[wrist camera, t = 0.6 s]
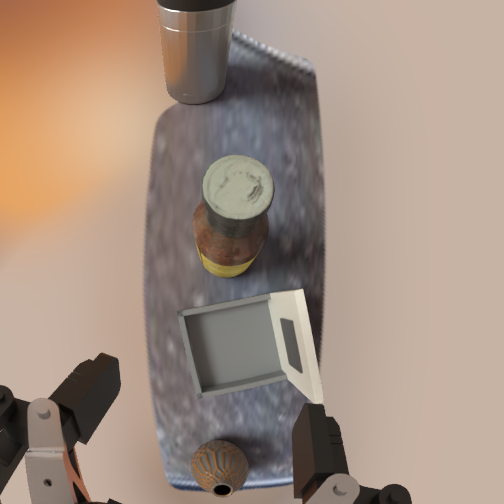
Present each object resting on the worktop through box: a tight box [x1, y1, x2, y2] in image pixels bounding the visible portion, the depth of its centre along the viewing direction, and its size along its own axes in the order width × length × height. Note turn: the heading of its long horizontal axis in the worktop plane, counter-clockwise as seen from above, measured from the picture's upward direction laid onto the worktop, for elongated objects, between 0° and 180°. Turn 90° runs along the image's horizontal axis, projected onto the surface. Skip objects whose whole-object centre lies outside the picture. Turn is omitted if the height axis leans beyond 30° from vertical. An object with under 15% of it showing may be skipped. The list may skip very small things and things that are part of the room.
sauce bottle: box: [193, 155, 275, 278], centre depth 25 cm, size 6×6×20 cm
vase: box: [191, 440, 249, 498], centre depth 26 cm, size 7×7×9 cm
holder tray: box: [177, 289, 324, 404], centre depth 27 cm, size 10×11×12 cm
